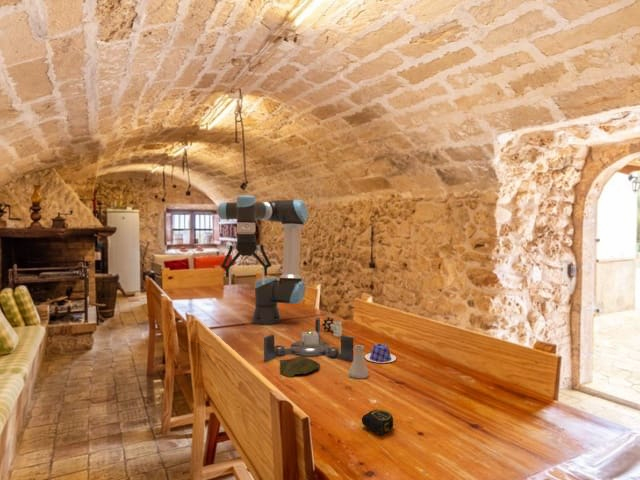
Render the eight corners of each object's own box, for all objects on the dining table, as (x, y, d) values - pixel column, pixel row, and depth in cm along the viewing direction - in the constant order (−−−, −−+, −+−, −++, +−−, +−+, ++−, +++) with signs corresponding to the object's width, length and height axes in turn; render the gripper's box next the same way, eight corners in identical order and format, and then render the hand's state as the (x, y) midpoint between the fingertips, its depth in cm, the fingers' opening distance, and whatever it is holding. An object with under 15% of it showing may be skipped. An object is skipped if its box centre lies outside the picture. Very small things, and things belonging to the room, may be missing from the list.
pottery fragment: (323, 376, 138) (323, 364, 138) (281, 379, 135) (281, 366, 135) (316, 362, 151) (316, 351, 151) (278, 365, 149) (278, 353, 149)
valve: (345, 336, 186) (334, 329, 197) (345, 322, 186) (334, 316, 197) (333, 337, 184) (322, 331, 194) (333, 323, 183) (322, 317, 194)
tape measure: (360, 427, 103) (360, 413, 102) (380, 420, 106) (380, 406, 106) (378, 439, 97) (378, 424, 97) (399, 431, 101) (399, 416, 101)
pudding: (402, 361, 153) (402, 347, 153) (377, 366, 147) (377, 352, 146) (382, 352, 163) (382, 339, 163) (358, 357, 157) (358, 344, 157)
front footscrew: (277, 352, 163) (277, 330, 162) (286, 353, 160) (286, 331, 160) (260, 360, 153) (260, 337, 153) (270, 362, 151) (269, 338, 150)
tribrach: (279, 338, 183) (279, 318, 182) (333, 335, 187) (332, 316, 187) (288, 366, 147) (288, 341, 146) (353, 361, 151) (353, 337, 151)
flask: (371, 372, 140) (371, 344, 140) (366, 380, 133) (367, 350, 133) (351, 370, 142) (351, 342, 142) (345, 377, 136) (345, 348, 135)
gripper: (214, 233, 160) (215, 286, 161) (277, 233, 165) (277, 284, 166) (215, 233, 167) (216, 284, 168) (275, 232, 172) (275, 282, 173)
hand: (246, 284), depth 167 cm, fingers open, 13 cm apart
